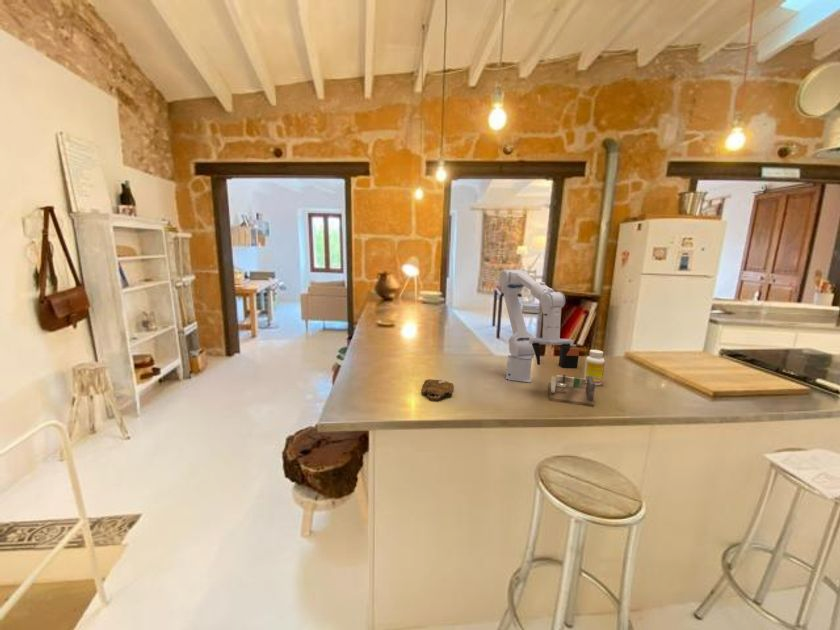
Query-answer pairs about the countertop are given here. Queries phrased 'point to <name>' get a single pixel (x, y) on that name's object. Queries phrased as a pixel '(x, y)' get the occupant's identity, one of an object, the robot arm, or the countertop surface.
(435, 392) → the decorative rock
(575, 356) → the battery
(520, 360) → the robot arm
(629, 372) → the countertop surface
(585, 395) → the base
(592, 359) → the supplement bottle
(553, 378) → the silver cylinder with block
